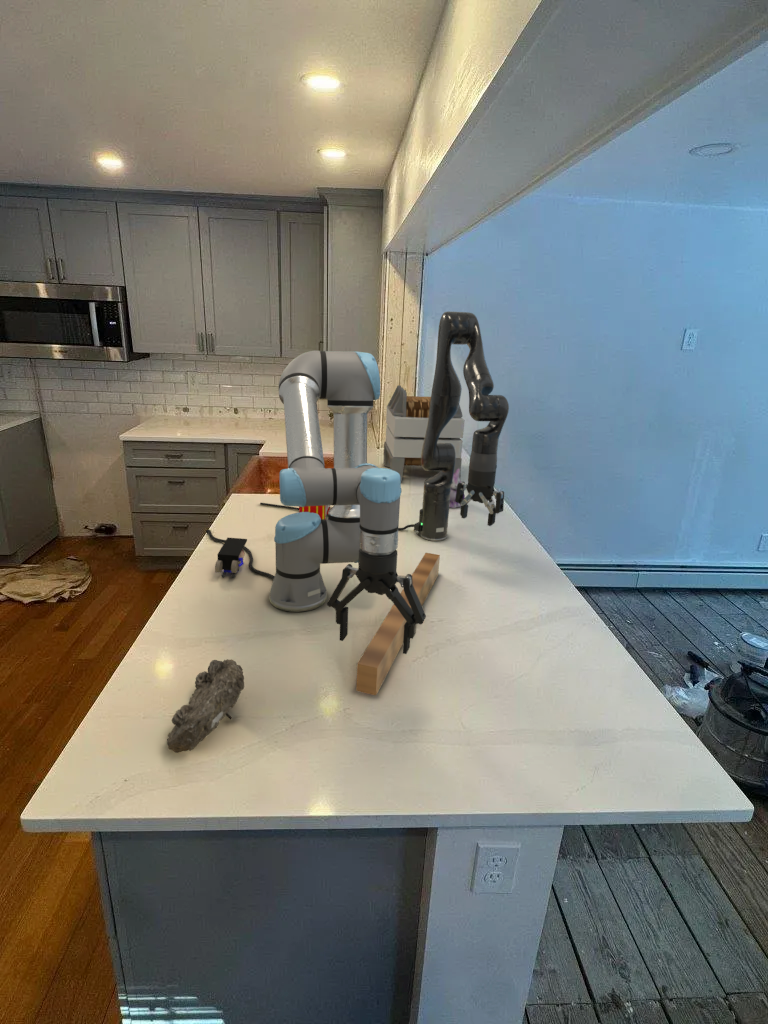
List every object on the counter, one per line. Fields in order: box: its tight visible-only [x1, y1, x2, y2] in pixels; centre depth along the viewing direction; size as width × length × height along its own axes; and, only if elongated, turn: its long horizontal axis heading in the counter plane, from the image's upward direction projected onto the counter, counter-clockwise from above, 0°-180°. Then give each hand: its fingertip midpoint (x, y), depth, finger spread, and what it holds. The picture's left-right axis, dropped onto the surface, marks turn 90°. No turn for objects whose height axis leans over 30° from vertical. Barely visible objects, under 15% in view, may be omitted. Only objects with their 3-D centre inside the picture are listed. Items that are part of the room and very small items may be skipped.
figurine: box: [449, 468, 466, 509], centre depth 230 cm, size 9×10×15 cm
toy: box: [298, 505, 331, 520], centre depth 210 cm, size 12×13×30 cm
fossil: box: [166, 658, 245, 754], centre depth 106 cm, size 22×10×15 cm
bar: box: [355, 552, 441, 696], centre depth 143 cm, size 60×4×7 cm, turn 163°
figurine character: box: [214, 537, 248, 578], centre depth 166 cm, size 7×8×15 cm
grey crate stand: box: [383, 384, 465, 483], centre depth 268 cm, size 34×33×41 cm
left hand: (374, 644), depth 117 cm, fingers open, 13 cm apart
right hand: (477, 521), depth 164 cm, fingers open, 8 cm apart
